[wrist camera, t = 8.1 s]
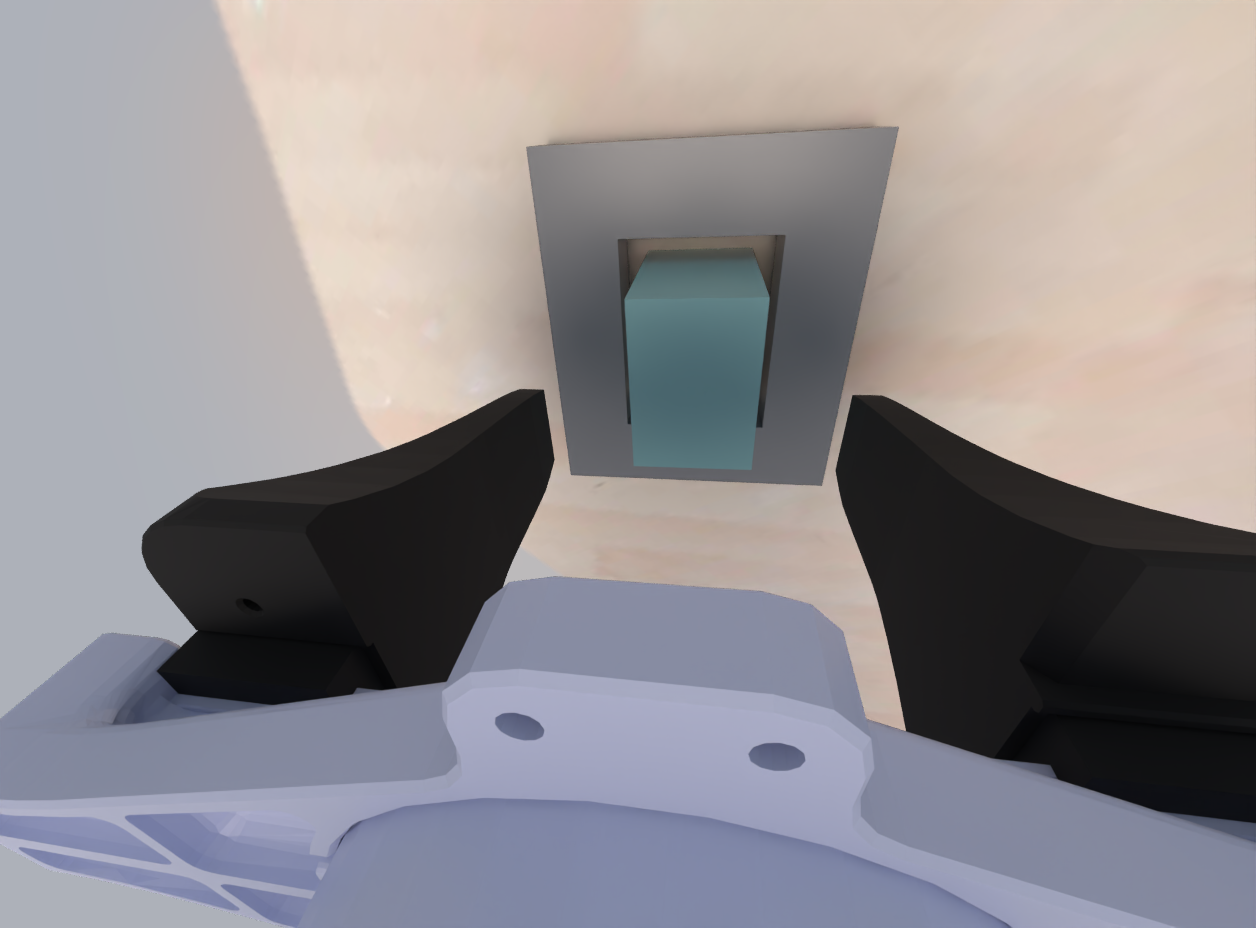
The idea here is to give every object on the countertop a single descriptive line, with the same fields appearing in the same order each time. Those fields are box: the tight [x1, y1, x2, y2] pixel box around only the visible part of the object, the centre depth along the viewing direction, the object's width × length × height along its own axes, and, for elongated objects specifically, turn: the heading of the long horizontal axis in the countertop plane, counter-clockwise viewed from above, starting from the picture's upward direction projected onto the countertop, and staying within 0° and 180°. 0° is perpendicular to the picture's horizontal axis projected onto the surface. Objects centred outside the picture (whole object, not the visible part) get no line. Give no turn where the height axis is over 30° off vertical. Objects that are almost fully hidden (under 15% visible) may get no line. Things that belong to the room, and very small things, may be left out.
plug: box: [624, 248, 770, 470], centre depth 16 cm, size 5×4×6 cm
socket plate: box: [526, 127, 899, 486], centre depth 17 cm, size 12×10×2 cm
